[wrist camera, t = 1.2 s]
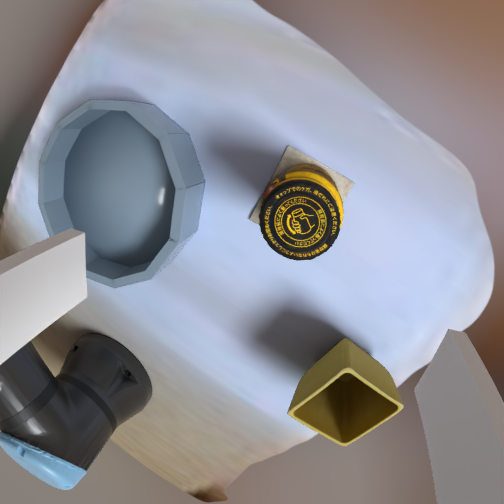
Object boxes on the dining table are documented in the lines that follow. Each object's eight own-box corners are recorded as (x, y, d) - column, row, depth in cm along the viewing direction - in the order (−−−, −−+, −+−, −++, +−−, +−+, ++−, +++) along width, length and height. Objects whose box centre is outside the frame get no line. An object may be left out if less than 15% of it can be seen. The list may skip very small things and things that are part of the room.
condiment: (354, 182, 29) (374, 205, 18) (311, 253, 33) (305, 310, 22) (288, 145, 30) (269, 145, 19) (249, 218, 33) (212, 259, 22)
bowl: (189, 288, 37) (172, 308, 32) (64, 246, 40) (40, 258, 35) (217, 112, 30) (200, 107, 25) (73, 101, 32) (46, 100, 28)
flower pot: (293, 362, 38) (284, 414, 29) (343, 316, 34) (346, 367, 26) (344, 395, 38) (344, 447, 30) (393, 355, 35) (405, 407, 26)
